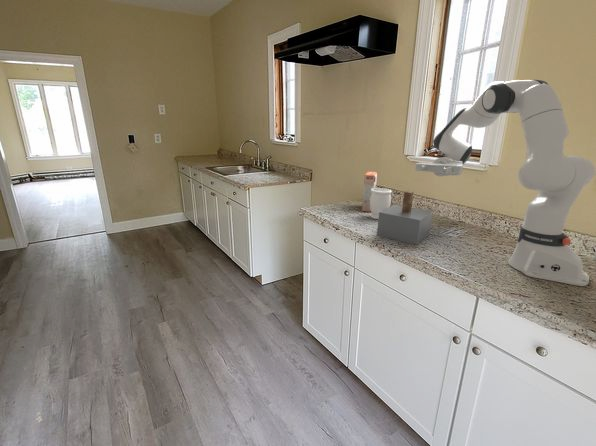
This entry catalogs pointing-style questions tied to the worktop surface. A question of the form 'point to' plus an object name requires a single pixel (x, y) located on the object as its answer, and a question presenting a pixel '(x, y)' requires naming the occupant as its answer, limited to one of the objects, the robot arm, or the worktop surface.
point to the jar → (379, 201)
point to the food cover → (405, 222)
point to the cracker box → (368, 190)
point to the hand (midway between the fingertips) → (433, 169)
